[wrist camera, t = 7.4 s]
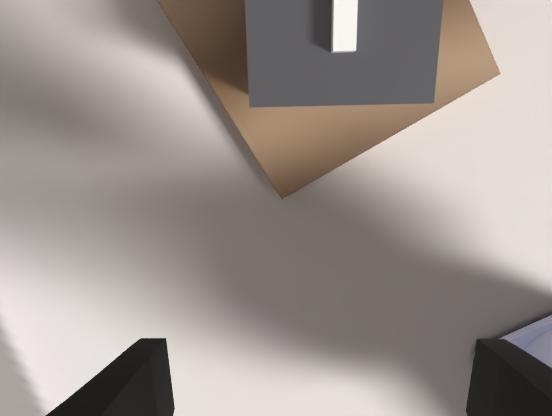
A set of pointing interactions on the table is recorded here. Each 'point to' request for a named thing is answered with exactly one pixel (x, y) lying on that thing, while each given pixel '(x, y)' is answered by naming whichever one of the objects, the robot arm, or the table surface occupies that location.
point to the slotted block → (342, 52)
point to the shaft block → (319, 119)
